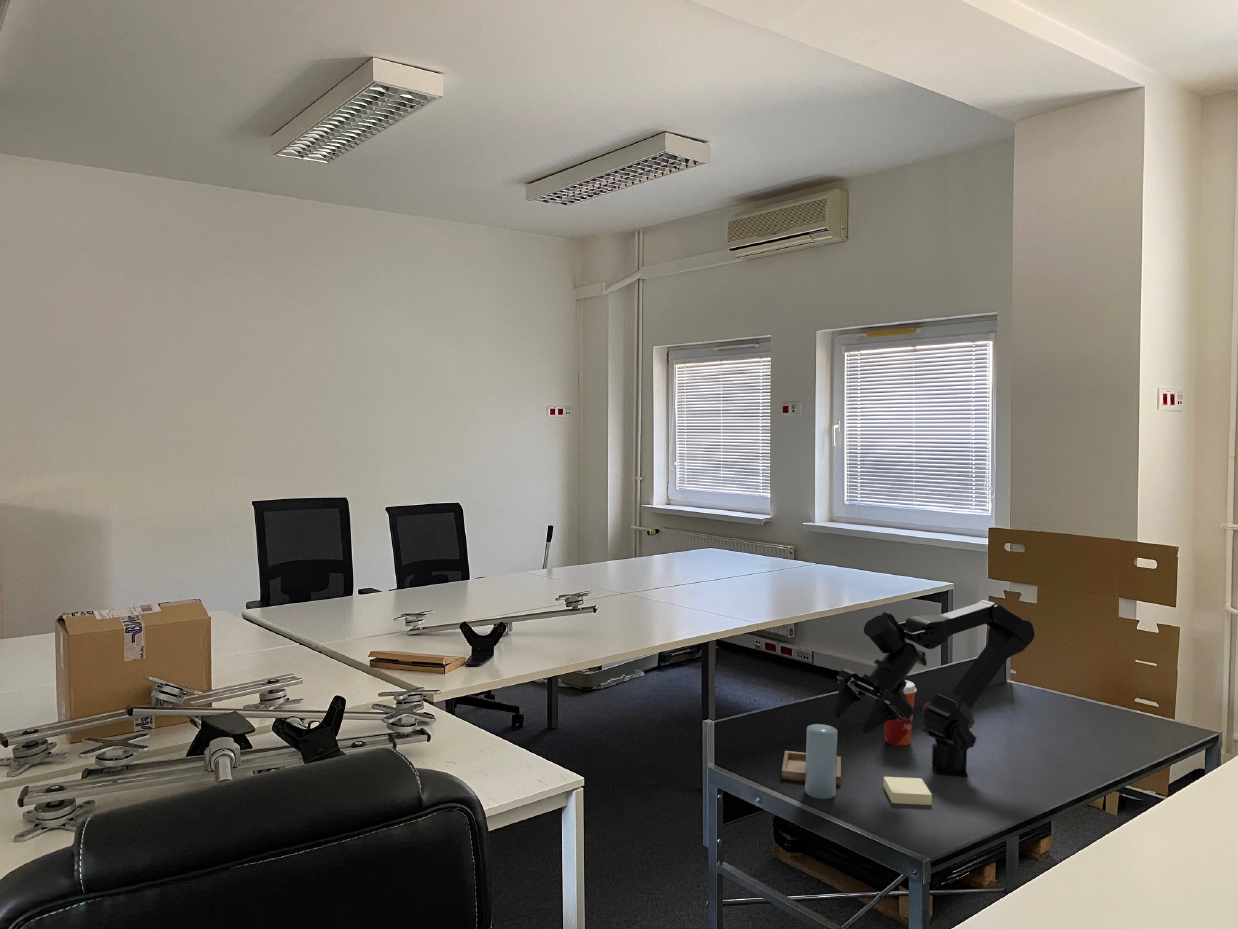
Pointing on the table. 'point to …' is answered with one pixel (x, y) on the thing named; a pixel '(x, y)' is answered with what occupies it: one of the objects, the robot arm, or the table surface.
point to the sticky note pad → (907, 790)
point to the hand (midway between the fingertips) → (848, 725)
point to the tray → (802, 767)
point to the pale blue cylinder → (821, 761)
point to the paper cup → (901, 722)
